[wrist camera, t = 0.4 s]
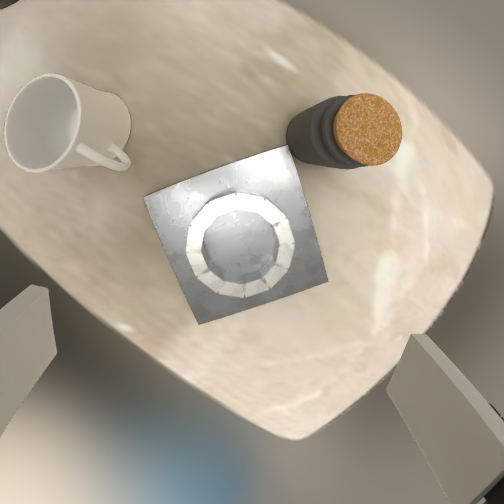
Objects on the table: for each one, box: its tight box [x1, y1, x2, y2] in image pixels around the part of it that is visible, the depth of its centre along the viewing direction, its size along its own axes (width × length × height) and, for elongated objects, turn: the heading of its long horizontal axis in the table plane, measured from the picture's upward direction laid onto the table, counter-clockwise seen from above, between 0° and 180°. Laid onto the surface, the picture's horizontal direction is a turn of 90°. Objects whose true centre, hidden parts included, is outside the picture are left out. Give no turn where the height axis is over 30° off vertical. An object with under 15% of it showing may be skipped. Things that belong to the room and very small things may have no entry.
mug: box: [4, 73, 131, 173], centre depth 25 cm, size 12×8×12 cm
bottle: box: [286, 93, 402, 169], centre depth 25 cm, size 6×6×15 cm
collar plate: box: [143, 145, 328, 325], centre depth 33 cm, size 16×16×4 cm
